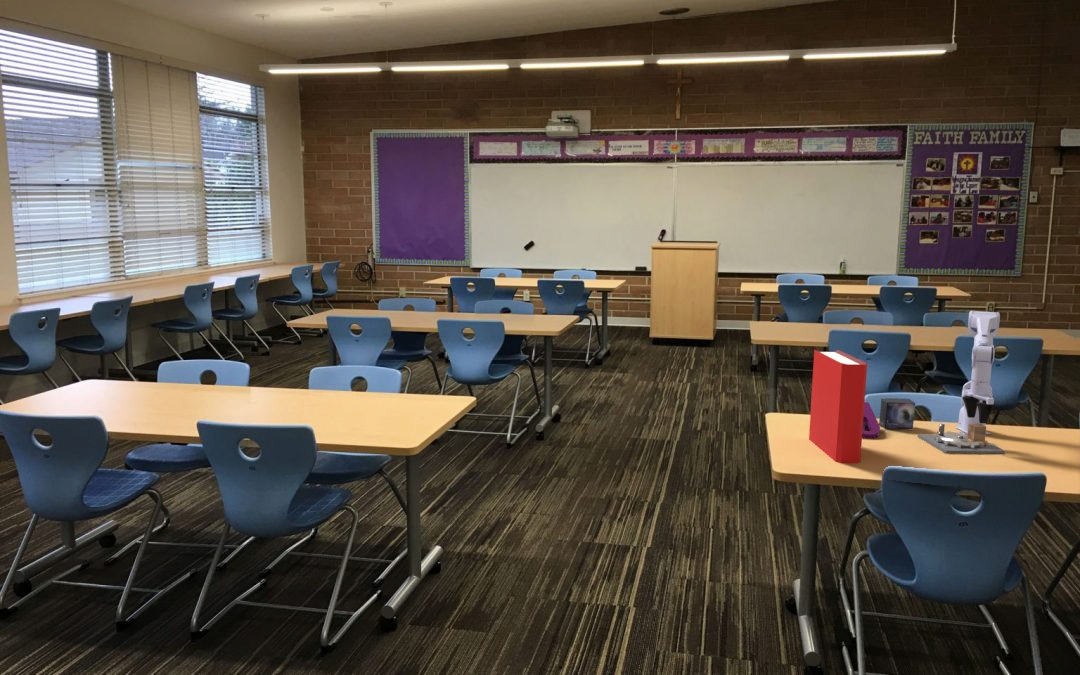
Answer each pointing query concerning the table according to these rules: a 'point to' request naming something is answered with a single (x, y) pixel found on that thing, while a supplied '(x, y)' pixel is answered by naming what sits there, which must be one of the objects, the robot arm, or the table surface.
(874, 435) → the mounting bracket
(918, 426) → the table surface
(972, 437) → the link block
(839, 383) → the book
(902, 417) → the small box
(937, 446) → the base plate
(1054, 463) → the table surface
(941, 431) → the sprocket
